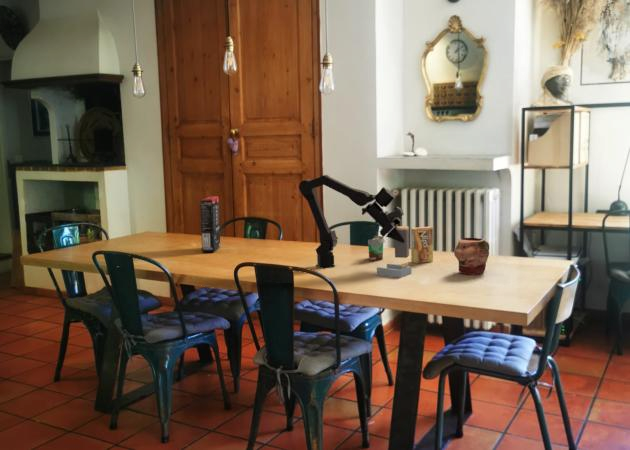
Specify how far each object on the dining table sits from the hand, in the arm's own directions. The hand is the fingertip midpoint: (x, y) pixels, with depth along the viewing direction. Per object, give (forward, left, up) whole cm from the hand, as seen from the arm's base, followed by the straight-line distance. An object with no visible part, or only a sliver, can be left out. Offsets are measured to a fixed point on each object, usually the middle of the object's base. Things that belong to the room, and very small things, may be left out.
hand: (405, 241), depth 278 cm
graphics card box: (-56, +95, -12) cm, 111 cm away
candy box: (+14, +8, -12) cm, 21 cm away
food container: (+1, +24, -12) cm, 27 cm away
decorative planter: (+19, -21, -12) cm, 31 cm away
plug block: (-1, +1, -7) cm, 7 cm away
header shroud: (-10, -6, -12) cm, 16 cm away
